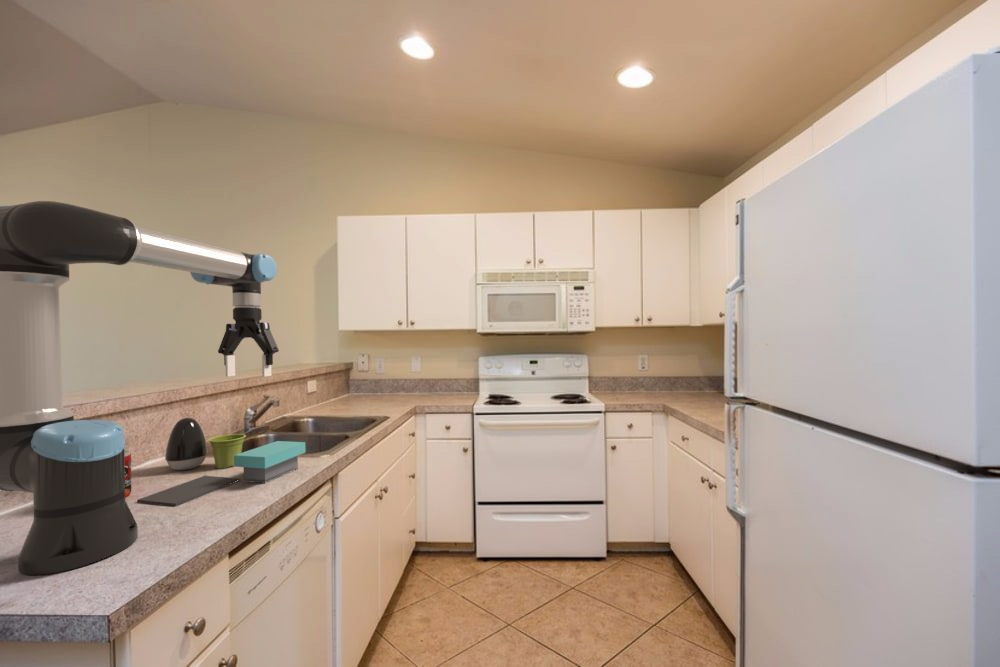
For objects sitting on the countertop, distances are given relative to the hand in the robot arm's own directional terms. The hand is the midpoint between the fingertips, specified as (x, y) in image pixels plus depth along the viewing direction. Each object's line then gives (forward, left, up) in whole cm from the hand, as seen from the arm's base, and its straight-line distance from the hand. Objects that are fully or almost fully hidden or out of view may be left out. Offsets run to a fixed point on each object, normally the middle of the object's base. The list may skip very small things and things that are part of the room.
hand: (248, 376), depth 125 cm
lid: (-7, -15, -23) cm, 28 cm away
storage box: (-7, -15, -27) cm, 32 cm away
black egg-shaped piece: (-6, +17, -28) cm, 33 cm away
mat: (-21, -3, -27) cm, 35 cm away
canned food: (-29, +12, -28) cm, 42 cm away
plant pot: (-2, +6, -28) cm, 28 cm away
